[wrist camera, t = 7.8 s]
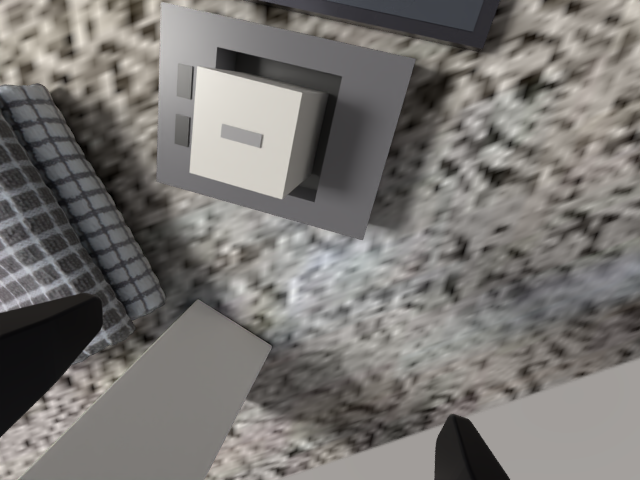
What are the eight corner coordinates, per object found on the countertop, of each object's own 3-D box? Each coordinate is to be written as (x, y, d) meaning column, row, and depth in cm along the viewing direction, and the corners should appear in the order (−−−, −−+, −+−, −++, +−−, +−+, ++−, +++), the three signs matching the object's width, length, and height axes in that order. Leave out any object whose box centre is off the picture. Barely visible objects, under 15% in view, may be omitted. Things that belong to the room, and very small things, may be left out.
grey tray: (414, 63, 16) (415, 58, 14) (367, 224, 19) (362, 240, 17) (191, 13, 17) (159, 1, 15) (182, 172, 21) (155, 181, 18)
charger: (328, 93, 17) (301, 92, 12) (311, 173, 19) (281, 199, 14) (250, 73, 17) (196, 65, 13) (239, 154, 19) (188, 173, 15)
